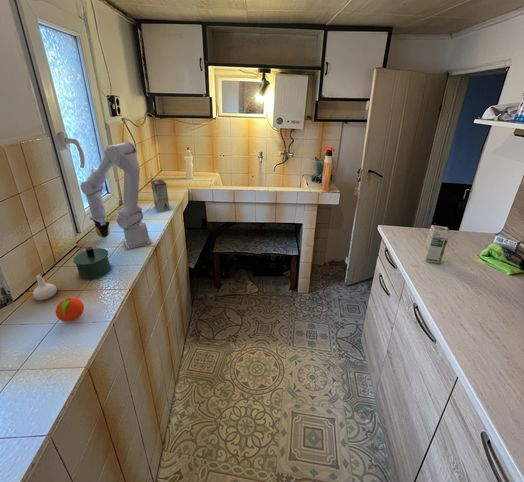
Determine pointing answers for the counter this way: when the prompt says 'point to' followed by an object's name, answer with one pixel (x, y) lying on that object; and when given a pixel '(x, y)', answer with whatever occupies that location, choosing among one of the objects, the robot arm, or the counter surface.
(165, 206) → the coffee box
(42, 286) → the garlic bulb
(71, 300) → the red tomato
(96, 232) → the lemon
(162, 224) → the counter surface
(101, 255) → the pot lid
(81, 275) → the pot
